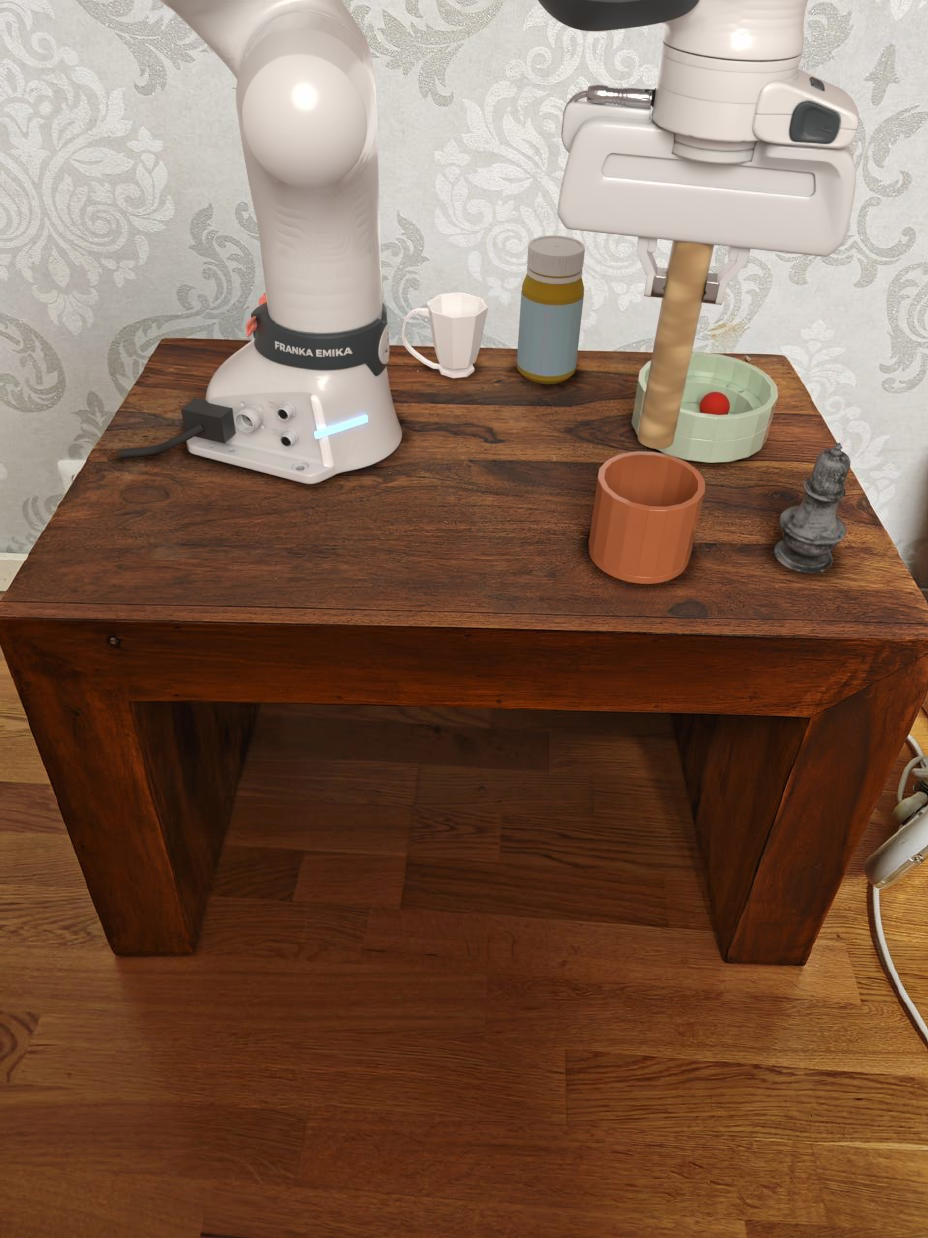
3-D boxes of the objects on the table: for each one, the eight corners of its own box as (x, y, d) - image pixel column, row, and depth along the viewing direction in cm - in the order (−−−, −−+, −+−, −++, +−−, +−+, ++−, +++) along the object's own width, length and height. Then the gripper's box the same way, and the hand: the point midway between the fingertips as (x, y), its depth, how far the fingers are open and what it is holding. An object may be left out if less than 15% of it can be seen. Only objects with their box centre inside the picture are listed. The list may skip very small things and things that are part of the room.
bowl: (626, 459, 101) (634, 408, 97) (635, 393, 112) (642, 345, 108) (766, 477, 99) (781, 425, 95) (762, 408, 110) (774, 359, 106)
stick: (636, 446, 80) (675, 226, 69) (638, 428, 83) (676, 212, 71) (672, 451, 80) (718, 231, 68) (673, 433, 82) (718, 216, 70)
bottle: (572, 388, 112) (586, 260, 102) (513, 382, 113) (521, 254, 103) (577, 361, 117) (590, 236, 108) (519, 355, 118) (528, 231, 108)
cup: (481, 386, 112) (483, 319, 107) (396, 378, 113) (395, 312, 108) (489, 358, 117) (492, 294, 112) (408, 351, 118) (407, 286, 113)
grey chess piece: (791, 580, 87) (828, 465, 79) (758, 541, 91) (790, 429, 83) (848, 569, 88) (890, 456, 80) (813, 532, 92) (850, 421, 84)
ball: (696, 425, 105) (702, 398, 103) (697, 410, 108) (702, 384, 105) (726, 428, 105) (732, 402, 103) (726, 414, 107) (732, 388, 105)
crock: (583, 576, 86) (593, 502, 81) (593, 517, 93) (603, 445, 88) (687, 591, 85) (704, 517, 80) (689, 530, 92) (705, 457, 87)
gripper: (560, 93, 63) (541, 298, 72) (885, 122, 60) (822, 331, 70) (571, 71, 68) (552, 266, 77) (873, 97, 65) (816, 296, 74)
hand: (683, 297), depth 73 cm, fingers closed on stick, 3 cm apart
